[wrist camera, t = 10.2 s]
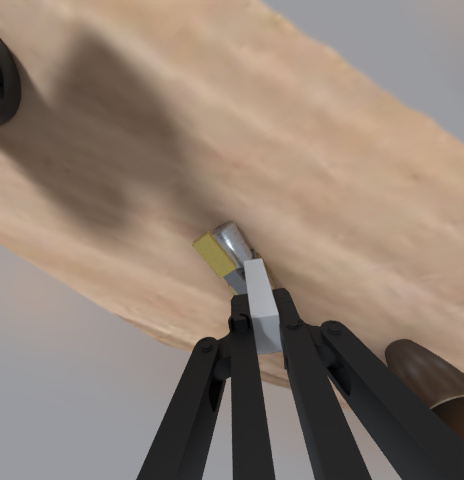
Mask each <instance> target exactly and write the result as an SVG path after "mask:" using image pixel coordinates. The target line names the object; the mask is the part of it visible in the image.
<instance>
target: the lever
mask: <svg viewBox="0 0 464 480" xmlns="http://www.w3.org/2000/svg"><path fill="white" fill-rule="evenodd" d="M192 246H193V247H194V248H195V249H196V251H197V252H198V253H199V254H200V255H201V256H202V257H203V259H204V260H205V261H206V262H207V263H208V264H209V266H210V267H211V268H212V269H213V270H214V271H215V272H216V274H217V275H218V276H219V277H220V278H222V277H224V278H225V280H226V281H227V282H228V283H229V284H230V285H231V286H232V288H233V289H234V290H235V291H236V292H237V293H238V295H240V294H247V293H248V291H247V284H246V279H245V278H244V277H243V276H242V274H241V273H240V272H239V271H238V270H237V268H236V263H235V262H234V260H233V259H232V258H231V257H230V256H229V254H228V253H227V252H226V251H225V249H224V248H223V247H222V246H221V245H220V243H219V242H218V241H217V240H216V239H215V237H214V236H213V235H212V234H211V232H210V231H207V232H206V233H205V234H203V235H202V236H201V237H199V238H198V239H196V240H195V241H194V242H193V244H192Z"/></svg>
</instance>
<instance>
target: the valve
mask: <svg viewBox="0 0 464 480" xmlns="http://www.w3.org/2000/svg"><path fill="white" fill-rule="evenodd" d="M211 234H212V235H213V236H214V237H215V239H216V240H217V241H218V242H219V243H220V245H221V246H222V247H223V248H224V249H225V251H226V252H227V253H228V254H229V256H230V257H231V258H232V259H233V260H234V262H235V263H236V268H237V270H238V271H239V272H240V273H241V274H242V276H243V277H244V278H245V279H246V277H245V269H244V262H243V261H247V260H254V259H261V257H260V255H259V253H258V254H256V252H255V250H254V249H252V250H250V249H249V248H248V246H247V244H246V242H245V241H244V239H243V237H242V235H241V234H240V232H239V230H238V228H237V227H236V225H235V223H234V222H233V221H230V222H227V223H224V224H222V225H221V226H219V227H218V228H216V229H215V230H214V231H213V232H212V233H211ZM262 261H263V260H262ZM263 264H264V262H263ZM264 267H265V271H266V274H267V277H268V280H269V284H270V287H271V290H273V289H275V286H274V282H273V279H272V276H271V275H270V273H269V271H268V269H267V267H266V266H265V264H264ZM229 288H230V289H231V291H232V293H233V294H234V295H238V293H237V292H236V291H235V290H234V289H233V288H232V286H231V285H230V284H229Z"/></svg>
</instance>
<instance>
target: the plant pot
mask: <svg viewBox="0 0 464 480" xmlns="http://www.w3.org/2000/svg"><path fill="white" fill-rule="evenodd" d="M385 357H386V361H387V364H388V368H389V369H390V370H391V371H392V372H393V373H394V374H395V375H396V376H397V377H398V378H399V379H400V380H401V381H402V382H403V383H404V384H405V385H406V386H407V387H408V388H409V389H410V390H412V391H413V392H414V393H415V394H416V395H417V396H418V397H419V398H420V399H421V400H422V401H423V402H424V403H425V404H426V405H427V406H428V407H429V408H430V409H431V410H432V411H433V412H434V413H435V414H436V415H437V416H438V417H439V418H440V419H441V420H442V421H443V422H444V423H445V424H446V425H447V426H448V427H449V428H451V429H452V430H453V431H454V432H455V433H456V434H457V435H458V436H459V437H460V438H461V439H462V440H463V441H464V373H462V372H461V371H460V370H458V369H457V368H455V367H454V366H452V365H451V364H449V363H448V362H447V361H445V360H443V359H442V358H440V357H439V356H437V355H436V354H434V353H432V352H431V351H429V350H427V349H426V348H424V347H422V346H420V345H419V344H417V343H415V342H413V341H411V340H407V339H402V340H397V341H395V342H393V343H391V344H390V345H389V346H388V347H387V348H386V350H385Z"/></svg>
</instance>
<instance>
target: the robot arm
mask: <svg viewBox="0 0 464 480" xmlns="http://www.w3.org/2000/svg"><path fill="white" fill-rule="evenodd" d="M20 95H21V89H20V80H19V75H18V72H17V69H16V66H15V63H14V61H13V59H12V57H11V55H10V53H9V51H8V50H7V48H6V47H5V45H4V44H3V42H2V41H1V40H0V125H2V124H4V123H6V122H7V121H9V120H10V119H11V118H12V117H13V115H14V114H15V112H16V110H17V108H18V106H19V102H20ZM243 262H244V269H245V277H246V284H247V291H248V293H247V294H240V295H234V296H233V298H232V300H231V316H230V318H229V320H228V324H229V329H230V332H229V334H228V335H227V336H225V337H223V338H221V339H219V340H216V339H215V338H213V337H205V338H203V339H201V340H199V341H198V342H197V344H196V345H195V347H194V349H193V351H192V354H191V356H190V358H189V361H188V363H187V365H186V367H185V370H184V372H183V374H182V377H181V379H180V381H179V383H178V386H177V388H176V390H175V393H174V395H173V397H172V399H171V402H170V404H169V407H168V409H167V411H166V413H165V415H164V418H163V420H162V422H161V425H160V427H159V429H158V431H157V434H156V436H155V438H154V441H153V443H152V445H151V448H150V450H149V452H148V454H147V457H146V459H145V461H144V463H143V466H142V468H141V470H140V473H139V475H138V477H137V479H136V480H202V476H203V472H204V468H205V464H206V460H207V455H208V452H209V448H210V444H211V440H212V436H213V431H214V428H215V424H216V420H217V416H218V412H219V407H220V403H221V400H222V395H223V392H224V387H225V383H226V379H227V378H229V377H231V399H232V400H231V401H232V454H233V455H232V458H233V480H275V473H274V466H273V459H272V452H271V445H270V439H269V432H268V425H267V418H266V411H265V404H264V397H263V390H262V383H261V376H260V369H259V362H258V356H257V355H258V354H266V353H274V352H282V350H283V355H284V366H285V369H286V370H287V374H288V377H289V381H290V385H291V389H292V393H293V396H294V400H295V404H296V408H297V412H298V416H299V420H300V424H301V428H302V431H303V435H304V439H305V443H306V447H307V451H308V455H309V459H310V462H311V466H312V470H313V474H314V478H315V480H372V479H371V476H370V474H369V472H368V470H367V467H366V465H365V462H364V460H363V458H362V455H361V454H360V451H359V449H358V446H357V444H356V442H355V439H354V437H353V435H352V432H351V430H350V428H349V425H348V423H347V421H346V418H345V416H344V414H343V411H342V409H341V407H340V404H339V402H338V400H337V397H336V395H335V393H334V390H333V388H332V386H331V383H330V381H329V379H328V377H329V378H330V380H331V381H332V382H333V384H334V385H335V387H336V388H337V389H338V391H339V392H340V394H341V395H342V396H343V398H344V399H345V401H346V402H347V403H348V405H349V406H350V408H351V409H352V410H353V412H354V413H355V415H356V416H357V417H358V419H359V420H360V421H361V423H362V424H363V426H364V427H365V428H366V429H367V431H368V433H369V434H370V435H371V437H372V438H373V439H374V441H375V442H376V444H377V445H378V447H379V448H380V449H381V451H382V452H383V454H384V455H385V456H386V458H387V459H388V461H389V462H390V463H391V465H392V466H393V467H394V469H395V470H396V472H397V473H398V475H399V476H400V477H401V479H402V480H464V441H463V440H462V439H461V438H460V437H459V436H458V435H457V434H456V433H455V432H454V431H453V430H452V429H451V428H449V427H448V426H447V425H446V424H445V423H444V422H443V421H442V420H441V419H440V418H439V417H438V416H437V415H436V414H435V413H434V412H433V411H432V410H431V409H430V408H429V407H428V406H427V405H426V404H425V403H424V402H423V401H422V400H421V399H420V398H419V397H418V396H417V395H416V394H415V393H414V392H413V391H412V390H410V389H409V388H408V387H407V386H406V385H405V384H404V383H403V382H402V381H401V380H400V379H399V378H398V377H397V376H396V375H395V374H394V373H393V372H392V371H391V370H390V369H389V368H388V367H387V366H386V365H385V364H384V363H383V362H382V361H381V360H380V359H379V358H378V357H377V356H376V355H375V354H374V353H372V352H371V351H370V350H369V349H368V348H367V347H366V346H365V345H364V344H363V343H362V342H361V341H360V340H359V339H358V338H357V337H356V336H355V335H354V334H353V333H352V332H351V331H350V330H349V329H348V328H347V327H346V326H345V325H343V324H342V323H340V322H337V321H331V320H330V321H326V322H324V323H322V325H321V327H319V326H312V325H308V324H306V323H304V321H303V320H302V319H300V317H299V315H298V313H297V310H296V308H295V305H294V303H293V301H292V298H291V296H290V293H289V292H288V291H287V290H286V289H285V288H280V289H273V290H271V287H270V284H269V280H268V277H267V274H266V271H265V267H264V264H263V261H262V258H261V259H254V260H247V261H243ZM327 375H328V376H327Z"/></svg>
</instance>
